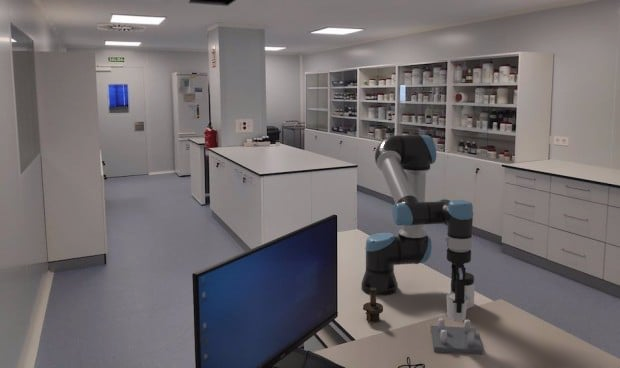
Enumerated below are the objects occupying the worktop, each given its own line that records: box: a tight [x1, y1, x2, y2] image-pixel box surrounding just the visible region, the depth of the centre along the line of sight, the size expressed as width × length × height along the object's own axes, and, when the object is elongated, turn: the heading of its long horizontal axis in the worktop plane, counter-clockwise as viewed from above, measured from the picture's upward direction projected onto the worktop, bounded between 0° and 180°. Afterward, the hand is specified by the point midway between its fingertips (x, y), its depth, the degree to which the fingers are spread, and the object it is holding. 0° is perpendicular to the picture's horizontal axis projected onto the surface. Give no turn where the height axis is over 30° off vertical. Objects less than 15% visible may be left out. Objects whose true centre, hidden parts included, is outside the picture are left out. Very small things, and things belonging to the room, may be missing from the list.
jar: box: [450, 271, 476, 310], centre depth 194 cm, size 9×8×12 cm
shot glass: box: [446, 293, 468, 321], centre depth 165 cm, size 7×7×7 cm
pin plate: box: [430, 317, 484, 355], centre depth 166 cm, size 15×15×6 cm
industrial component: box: [362, 288, 384, 323], centre depth 183 cm, size 9×7×12 cm
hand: (456, 315), depth 165 cm, fingers closed on shot glass, 7 cm apart
